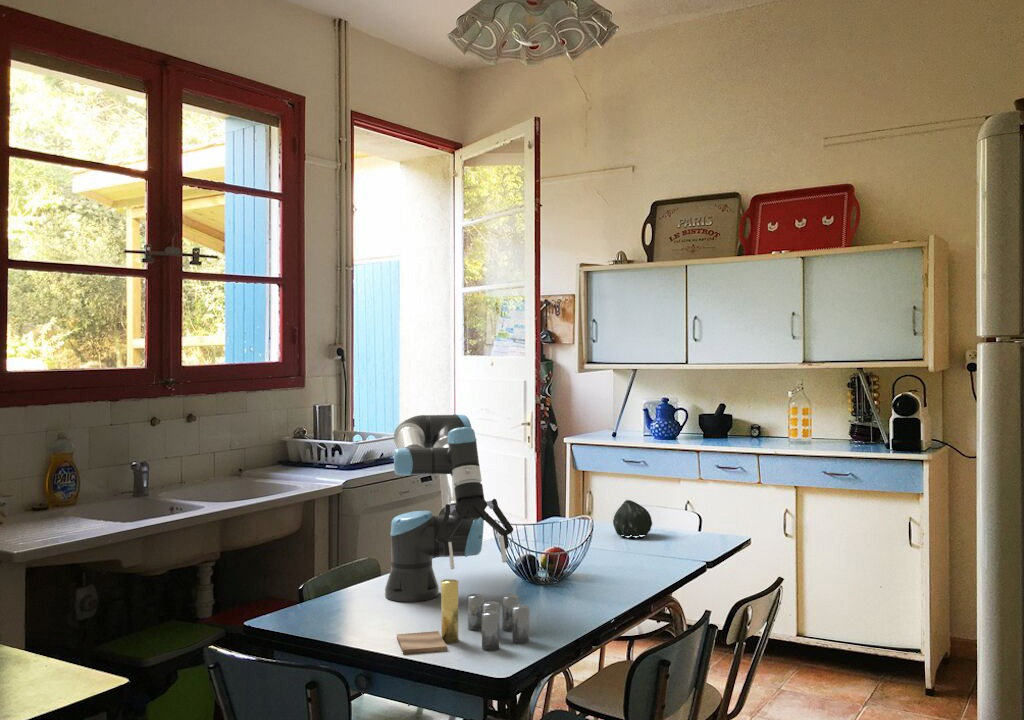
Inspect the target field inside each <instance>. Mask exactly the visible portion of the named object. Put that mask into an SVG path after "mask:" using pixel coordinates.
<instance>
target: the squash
mask: <svg viewBox="0 0 1024 720" xmlns="http://www.w3.org/2000/svg"><path fill="white" fill-rule="evenodd" d="M652 520H653V519H652V516H651V514H650V512H649V511H648V510H647V509H646V508H645V507H644V506H643V505H641V504H639V503H637V502H635V501H632V500H630V499H626V500H625V501H623V503H622V504H621V505H620V507H618V509H617V510H616V512H615V514H614V516H613V519H612V522H613V523H612V524H613V527H614V529H615V532H616V534H617V536H619V535H624V536H630V535H632V536H639V535H646V536H647V535H648V533H649V532H651V530H652V526H653V521H652Z"/></svg>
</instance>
